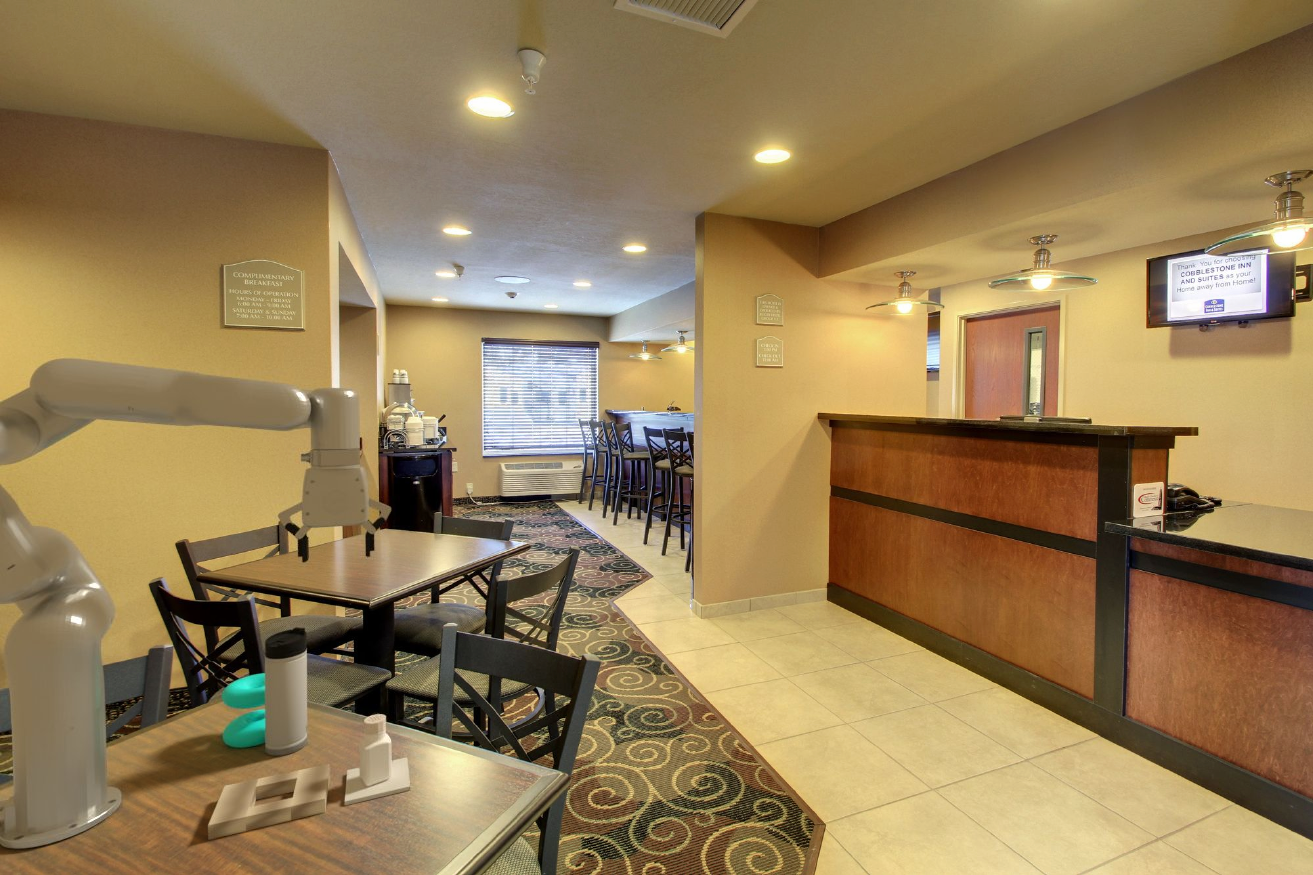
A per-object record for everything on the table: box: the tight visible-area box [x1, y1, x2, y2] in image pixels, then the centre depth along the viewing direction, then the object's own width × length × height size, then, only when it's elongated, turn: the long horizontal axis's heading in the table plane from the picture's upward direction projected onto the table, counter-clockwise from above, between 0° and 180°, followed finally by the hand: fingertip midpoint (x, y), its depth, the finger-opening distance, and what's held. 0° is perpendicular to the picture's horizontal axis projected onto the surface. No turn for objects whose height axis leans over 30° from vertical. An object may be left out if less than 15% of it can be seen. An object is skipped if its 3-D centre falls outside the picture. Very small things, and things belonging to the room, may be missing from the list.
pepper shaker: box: [358, 713, 392, 786], centre depth 96 cm, size 4×4×10 cm
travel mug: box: [264, 626, 308, 757], centre depth 106 cm, size 6×7×20 cm
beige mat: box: [344, 757, 411, 806], centre depth 96 cm, size 9×9×1 cm
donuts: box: [221, 672, 266, 748], centre depth 110 cm, size 10×10×10 cm
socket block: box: [207, 763, 331, 841], centre depth 90 cm, size 14×10×2 cm
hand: (337, 558), depth 105 cm, fingers open, 9 cm apart
